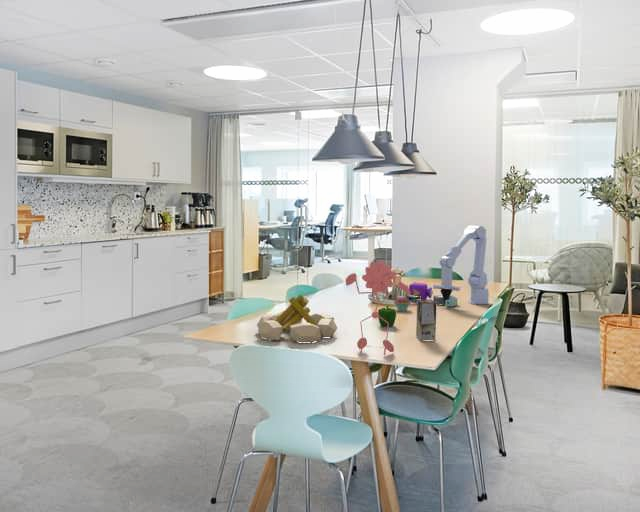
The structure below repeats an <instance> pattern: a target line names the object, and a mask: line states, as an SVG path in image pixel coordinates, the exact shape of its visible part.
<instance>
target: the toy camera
mask: <svg viewBox="0 0 640 512" xmlns="http://www.w3.org/2000/svg"><path fill="white" fill-rule="evenodd" d="M408 289H409V290H410V294H411V295H415V296H421V300H428V299H427V298H429V299H431V298H432V296H433V294H434V292H433V288H432V287H429V288H428V284H427V283H421V282H417V281H413V283H410V284H409V286H408Z"/></svg>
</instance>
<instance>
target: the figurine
mask: <svg viewBox="0 0 640 512" xmlns="http://www.w3.org/2000/svg"><path fill="white" fill-rule="evenodd" d="M364 270H365V274H363V275H361V279H362V280H363V282H365V288H367V289H371V291H360V289H359V285H358V280H357V279H358V278H357V274H356V272H353V273H350V274H349V275H348V276H347V277H346V278H345V280H344V281H345V285H346V287H348V286H350V285H352V284H354V283H355V285H356V289H357V293H358V294H359V295H360V294H361V295H363V294H373V295H374V296H375V297H376V298H377V299H378V300H377V303H376V307H375V310H374V311H372V313H371V315H370V316H368V317H366V318H364V319H362V320H360V322H359V324H360V329H361V333H360V334H361V337H360V338H359V339H358V340H357V342H356V345H357V346H356V347H358V350H359V351H360V352H359V354H360V353H363V349H364V348H365V346H368V340H367V338H366V337H364V335H363V334H364V333H363V325H362V322H364V321H366V320H368V319H370V318H372V319H379V318H378V317H380V316H379V314H378V308H379V304H380V301H381V298H380V297H382V298H385V299H388V298H390V296H391V294H392V293H393V292H394V291H395V290H396V289H397V287H398V286H399V288H400V289H401V290H402V291H403V292H404V293H405V292H406V294H407V295H408V296H409V295H410V290H409V286H407V285H406V284H405V283H403V282H402V281H401V280H399V281H398V282H397V284H396V285H395V286H394V282H393V280H394V279H395V278H396V275H395V274H394V273H393V272H391V270H392V265H390V264H386V263H385V262H384V261H380V262H378V263H377V262H376V261H374V260H372V261H371V262H370V263H369V266H365V269H364ZM388 288H392V290H391V291H390V292H389V293H388V295H387V296H385V295H383V294H386V293H387V291H388ZM379 292H381V293H383V294H380V293H379ZM379 296H380V297H379ZM380 318H381V317H380ZM381 319H382V320H384V319H383V318H381ZM384 321H385V320H384ZM385 322H386V321H385ZM386 323H388V322H386ZM386 327H387V329H386V336H385V337H386V339H383V340H382V345H383V348H384V347H385V348H384V349H383V355H385V356H386V351H388V352H390V353H391V352H393V353H394V351H395V348H394V347H395V346H394V345H393V343H392V342H391V341H390V340H388V337H389V336H388V335H389V324H388V326H386ZM360 349H361V350H360Z"/></svg>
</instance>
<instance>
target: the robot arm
mask: <svg viewBox="0 0 640 512" xmlns="http://www.w3.org/2000/svg"><path fill="white" fill-rule="evenodd" d="M463 232H464V233H463V234H462V235H461V237H460V238H459V240H458V241H457V243H456V244H455V245H451V247H450V249H449V250H448V251H447V253H446V254H445V255H443V256H442V257H441V258H440V260H439V265H440V269H441V279H440V280H441V284H433V288H432V290H433V289H434V290H435V289H436V290H437V289H438V290H440V293H441V296H443V299H444V303H445V300H449V297H450V296H451V295H452V292H453V291H456V292H460V290H461V287H460V286H456V285H455V286H454V285H453V267H454V266H455V264H456V261H457V259H458V257H459V256H460V255H461V253H462V249H463V248H464V247H465V246H466V244H468V242H469V241H470V240H473V241H474V242H475V249H474V250H475V252H474V260H473V270H472V271H470V273H469V277H468V279H467V282H468V285H469V287H470V300H468V301H467V302H468V303H470V304H471V305H489V288H488V287H487V285H488V278H487V277H488V276H487V275H488V274H487V273H486V272H485V270H484V267H485V260H486V246H487V229H486V228H485V227H484V226H483V225H471V224H469V225H467V226H466V228H465V229H464V231H463Z"/></svg>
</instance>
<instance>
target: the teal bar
mask: <svg viewBox="0 0 640 512" xmlns="http://www.w3.org/2000/svg"><path fill="white" fill-rule="evenodd" d="M444 306H445V308H448V307H449V306H450V307H454V306H458V298H457V297H456V298H454V299H449V300H445V305H444Z"/></svg>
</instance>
